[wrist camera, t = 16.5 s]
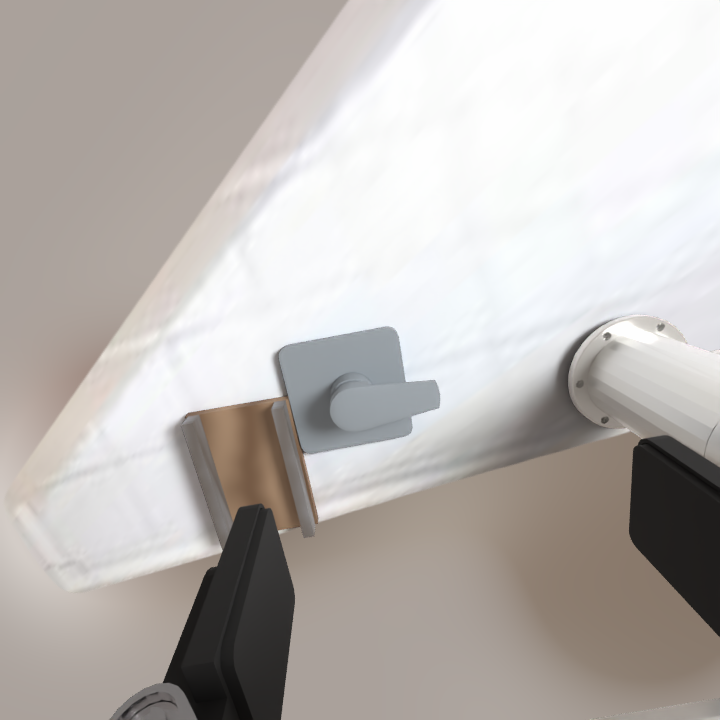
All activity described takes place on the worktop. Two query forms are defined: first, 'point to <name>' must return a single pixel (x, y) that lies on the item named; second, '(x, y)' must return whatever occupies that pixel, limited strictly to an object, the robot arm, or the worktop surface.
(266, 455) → the stand
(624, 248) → the worktop surface
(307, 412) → the shower valve
